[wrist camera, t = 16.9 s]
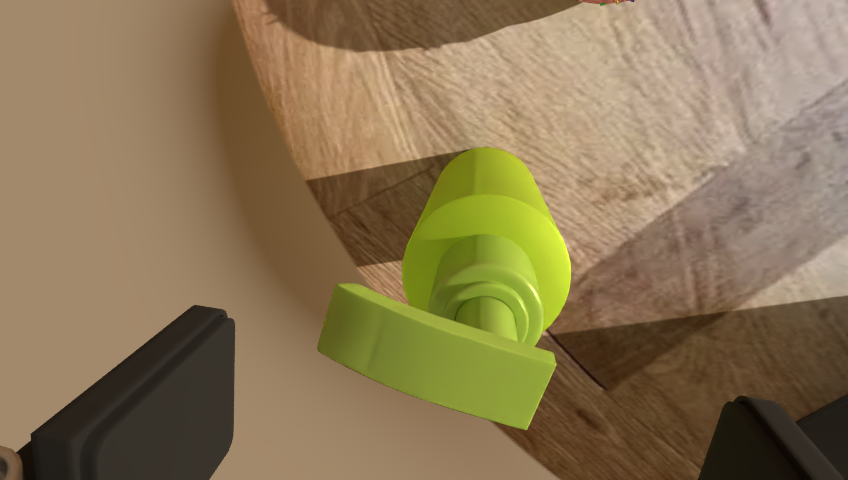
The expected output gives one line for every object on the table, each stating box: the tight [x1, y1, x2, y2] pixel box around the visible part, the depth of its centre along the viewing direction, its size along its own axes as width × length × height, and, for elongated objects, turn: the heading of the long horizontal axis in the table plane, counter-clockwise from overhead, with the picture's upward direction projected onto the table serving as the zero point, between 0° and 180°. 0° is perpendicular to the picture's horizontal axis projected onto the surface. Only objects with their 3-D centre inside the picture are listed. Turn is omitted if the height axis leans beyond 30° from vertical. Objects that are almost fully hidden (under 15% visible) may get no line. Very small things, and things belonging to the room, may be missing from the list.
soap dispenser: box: [317, 147, 571, 430], centre depth 22 cm, size 6×7×20 cm
